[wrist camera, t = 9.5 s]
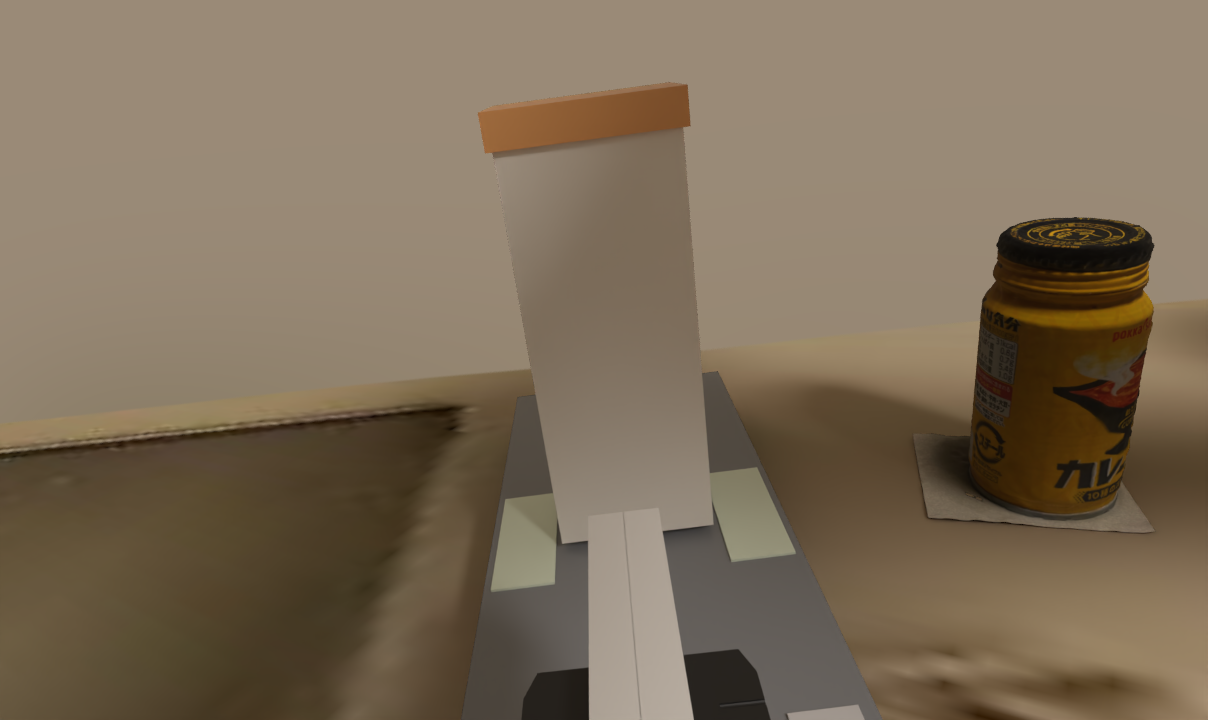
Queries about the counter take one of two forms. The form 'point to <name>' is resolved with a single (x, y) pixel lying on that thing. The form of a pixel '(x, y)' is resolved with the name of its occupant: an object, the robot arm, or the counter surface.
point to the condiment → (1052, 383)
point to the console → (698, 577)
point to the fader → (608, 298)
